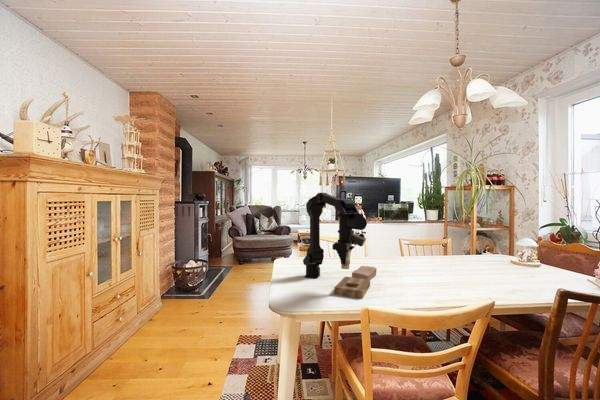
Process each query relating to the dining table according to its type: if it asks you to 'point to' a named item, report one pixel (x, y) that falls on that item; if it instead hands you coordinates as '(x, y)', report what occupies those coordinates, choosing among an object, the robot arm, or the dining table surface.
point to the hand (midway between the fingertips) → (345, 263)
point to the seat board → (352, 287)
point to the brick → (364, 272)
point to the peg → (346, 262)
